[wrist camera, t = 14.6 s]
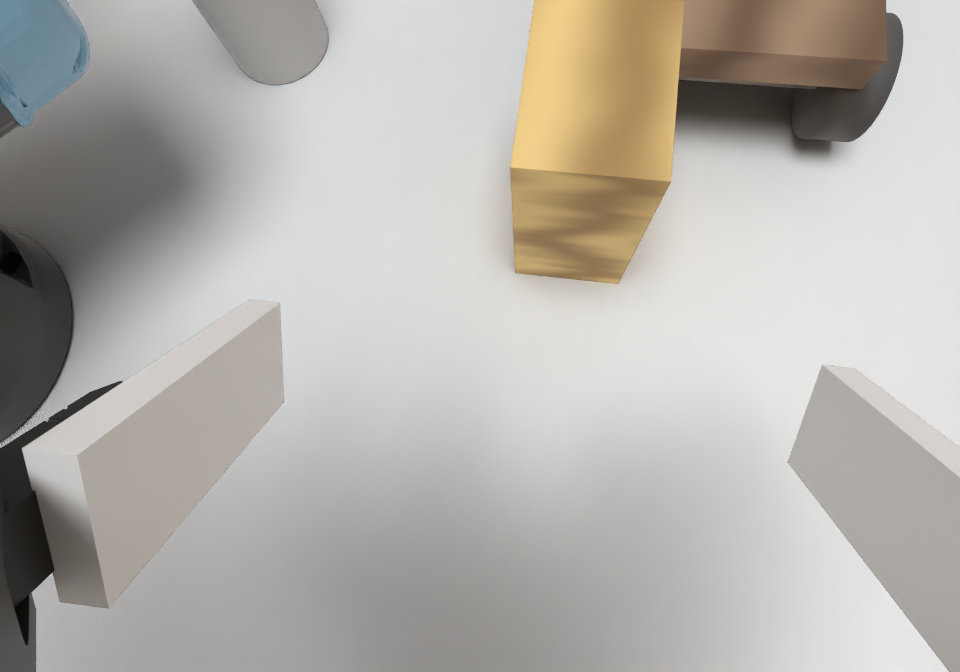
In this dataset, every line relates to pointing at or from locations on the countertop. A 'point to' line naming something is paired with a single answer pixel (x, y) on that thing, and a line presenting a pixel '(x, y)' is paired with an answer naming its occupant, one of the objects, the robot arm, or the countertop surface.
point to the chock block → (593, 133)
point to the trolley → (799, 56)
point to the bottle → (269, 36)
